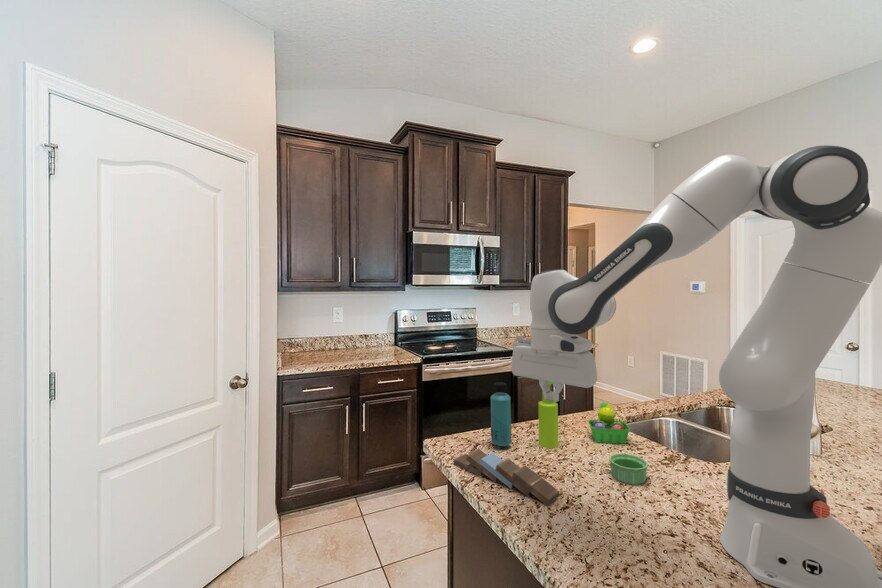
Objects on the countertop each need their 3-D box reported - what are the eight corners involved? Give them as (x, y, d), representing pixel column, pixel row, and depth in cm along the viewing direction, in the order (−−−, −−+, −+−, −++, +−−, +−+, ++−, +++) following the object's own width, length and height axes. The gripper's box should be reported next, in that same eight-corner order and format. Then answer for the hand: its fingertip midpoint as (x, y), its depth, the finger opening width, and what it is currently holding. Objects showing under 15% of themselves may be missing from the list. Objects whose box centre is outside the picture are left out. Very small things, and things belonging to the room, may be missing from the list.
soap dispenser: (562, 449, 117) (562, 384, 116) (539, 447, 118) (538, 383, 118) (560, 441, 122) (560, 379, 122) (538, 440, 124) (537, 378, 123)
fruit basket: (591, 443, 121) (591, 407, 121) (587, 433, 129) (587, 399, 129) (630, 446, 118) (630, 409, 118) (623, 435, 127) (623, 401, 127)
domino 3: (523, 475, 97) (492, 452, 104) (512, 483, 94) (481, 458, 100) (521, 480, 98) (490, 457, 104) (510, 488, 94) (479, 463, 100)
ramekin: (604, 478, 99) (604, 461, 99) (616, 466, 106) (616, 450, 106) (641, 490, 93) (641, 472, 93) (652, 476, 99) (652, 459, 99)
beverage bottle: (515, 445, 120) (514, 381, 120) (506, 453, 115) (506, 386, 114) (496, 441, 124) (495, 379, 123) (487, 448, 118) (486, 384, 118)
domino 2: (507, 470, 101) (478, 448, 107) (496, 477, 97) (467, 454, 103) (505, 475, 101) (477, 453, 107) (495, 482, 97) (465, 459, 104)
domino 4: (540, 483, 94) (508, 458, 100) (529, 491, 90) (496, 464, 97) (538, 488, 94) (506, 463, 101) (527, 496, 91) (495, 469, 97)
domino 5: (559, 491, 90) (525, 464, 97) (548, 499, 86) (513, 471, 93) (557, 497, 90) (523, 470, 97) (546, 505, 87) (511, 477, 93)
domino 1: (492, 464, 104) (465, 453, 111) (481, 470, 101) (453, 459, 108) (492, 470, 104) (465, 459, 111) (481, 477, 101) (453, 464, 108)
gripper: (505, 338, 93) (506, 394, 94) (586, 345, 79) (587, 412, 79) (520, 335, 98) (521, 389, 98) (599, 342, 83) (600, 406, 83)
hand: (551, 400), depth 88 cm, fingers closed
